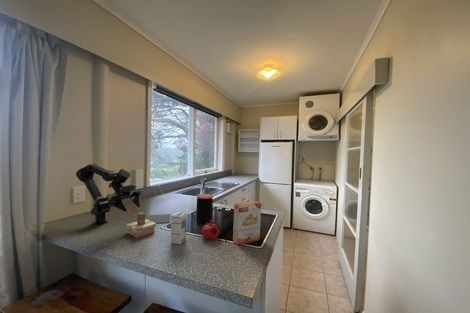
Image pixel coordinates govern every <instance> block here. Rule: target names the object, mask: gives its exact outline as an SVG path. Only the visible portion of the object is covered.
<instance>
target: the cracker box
mask: <svg viewBox="0 0 470 313" xmlns="http://www.w3.org/2000/svg"><path fill="white" fill-rule="evenodd" d="M233 206H234V207H233V226H232V229H233V230H232V231H233V233H232V241H233V242H234V243H235V244H236V245H237V246H238V245H239V244H240V245H243V244H248V243H254V242H257V241H258V240H259V241H260V239H261V238H260V237H261V235H260V234H261V217H262V216H261V215H262V203H261V202H260V201H257V200H249V201H241V202H234V205H233Z"/></svg>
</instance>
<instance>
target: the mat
mask: <svg viewBox="0 0 470 313" xmlns="http://www.w3.org/2000/svg"><path fill="white" fill-rule="evenodd" d="M171 216H172V214H171V213H166V214H165V213H164V214H162V213H161V214H146V215H145V219H147V220H149V221H152V222H154V223H156V225H158V224H170V223H171Z"/></svg>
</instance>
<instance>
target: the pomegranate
mask: <svg viewBox="0 0 470 313" xmlns="http://www.w3.org/2000/svg"><path fill="white" fill-rule="evenodd" d="M219 235H220V229H219V227H218V224H217V223H214V221H213V220H212V221H210V224H209V223H208V224H207V225H206V224H205V225H202V227H201V236H202V238H204V239H206V240H210V241H211V240H212V241H213V240H216V239H217V238H218V237H219Z"/></svg>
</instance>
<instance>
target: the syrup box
mask: <svg viewBox="0 0 470 313" xmlns="http://www.w3.org/2000/svg"><path fill="white" fill-rule="evenodd" d="M186 224H187V213H185V212H178V211H177V212H175V213H174V214H171V216H170V243H171V244H174V243H176V245H182V244H183V242H185V240H186V239H187V235H186V234H187V232H186V231H187V229H186V228H187V225H186Z"/></svg>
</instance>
